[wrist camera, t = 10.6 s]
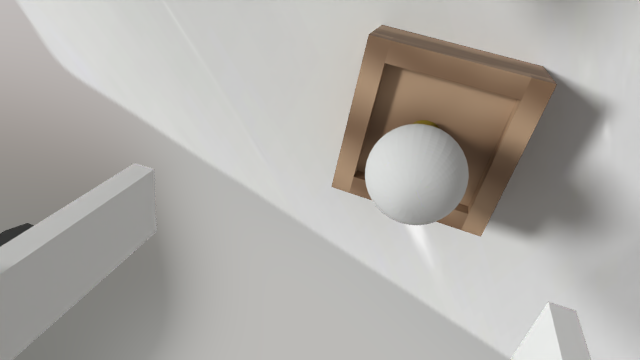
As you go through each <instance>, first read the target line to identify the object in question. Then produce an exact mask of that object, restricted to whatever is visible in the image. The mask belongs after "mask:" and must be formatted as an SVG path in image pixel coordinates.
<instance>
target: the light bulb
mask: <svg viewBox="0 0 640 360" xmlns="http://www.w3.org/2000/svg"><path fill="white" fill-rule="evenodd" d="M468 178H469V174H468V164H467V160H466V157H465V155H464V152H463V151H462V149H461V147H460V146H459V144H458V143H457V142H456V141H455V140H454V139H453V138H452V137H451V136H450V135H449V134H447V133H446V132H444V131H442V130H441V129H440V128H439V127H438V126H437V125H436V124H435V123H433V122H431V121H427V120H420V121H417V122H414V123H413V124H409V125H404V126H401V127H398V128H395V129H393V130H391V131H390V132H388V133H387V134H385V135H384V136H383V137H382V138H380V140H379V141H378V142H377V143H376V144H375V145H374V147H373V149H372V150H371V152H370V154H369V157H368V159H367V163H366V168H365V181H366V187H367V190H368V193H369V195H370V197H371V199H372V201H373V202H374V204H375V205H376V207H377V208H378V209H379V210H380V211H381V212H382V213H384V214H385V215H386V216H388V217H389V218H391V219H393V220H395V221H398V222H400V223H404V224H409V225H424V224H429V223H433V222H436V221H438V220H440V219H442V218H444V217H445V216H447V215H448V214H449V213H451V212H452V211H453V210H454V209H455V208H456V207H457V205H458V204H459V203H460V201H461V200H462V198H463V196H464V194H465V191H466V188H467V184H468Z"/></svg>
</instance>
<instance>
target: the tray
mask: <svg viewBox="0 0 640 360" xmlns="http://www.w3.org/2000/svg"><path fill="white" fill-rule="evenodd" d="M556 85H557V84H556V83H555V81H554V80H553V79H552V77H551V76H550V75H549V73H548V72H547V71H546V70H545V68H544V67H543V66H539V65H535V64H531V63H528V62H524V61H520V60H516V59H512V58H508V57H504V56H501V55H497V54H493V53H489V52H485V51H481V50H477V49H474V48H470V47H466V46H462V45H458V44H454V43H450V42H446V41H443V40H439V39H435V38H431V37H427V36H423V35H419V34H416V33H412V32H408V31H404V30H400V29H396V28H392V27H389V26H385V25H381V26H380V27H379V28H377V29H376V30H374V31H373V32H372V33H370V34H369V36H368V40H367V44H366V48H365V52H364V56H363V60H362V65H361V69H360V73H359V77H358V81H357V85H356V89H355V93H354V97H353V101H352V105H351V109H350V114H349V118H348V122H347V126H346V130H345V134H344V138H343V142H342V146H341V150H340V154H339V158H338V162H337V167H336V171H335V175H334V179H333V183H332V187H334V188H337V189H340V190H343V191H346V192H349V193H352V194H355V195H358V196H361V197H364V198H367V199H370V200H372V199H371V197H370V195H369V193H368V190H367V187H366V181H365V168H366V163H367V159H368V157H369V154H370V152H371V150H372V149H373V147H374V145H375V144H376V143H377V142H378V141H379V140H380V138H382V137H383V136H384V135H385V134H387V133H388V132H390V131H391V130H393V129H395V128H398V127H401V126H404V125H409V124H413V123H414V122H417V121H420V120H427V121H431V122H433V123H435V124H436V125H437V126H438V127H439V128H440V129H441V130H442V131H444V132H446V133H447V134H449V135H450V136H451V137H452V138H453V139H454V140H455V141H456V142H457V143H458V144H459V146H460V147H461V149H462V151H463V152H464V155H465V157H466V160H467V164H468V174H469V178H468V184H467V188H466V191H465V194H464V196H463V198H462V200H461V201H460V203H459V204H458V205H457V207H456V208H455V209H454V210H453V211H452V212H451V213H449V214H448V215H447V216H445V217H444V218H442V219H440V220H438V221H436V222H439V223H442V224H445V225H448V226H451V227H454V228H457V229H460V230H463V231H466V232H469V233H472V234H475V235H478V236H481V235H482V233H483V231H484V229H485V227H486V225H487V223H488V221H489V219H490V217H491V215H492V213H493V211H494V209H495V207H496V205H497V203H498V201H499V199H500V197H501V195H502V193H503V191H504V189H505V187H506V185H507V183H508V181H509V179H510V177H511V175H512V173H513V171H514V169H515V167H516V165H517V163H518V161H519V159H520V157H521V155H522V153H523V151H524V149H525V147H526V145H527V143H528V141H529V139H530V137H531V135H532V133H533V131H534V129H535V127H536V125H537V123H538V121H539V119H540V117H541V115H542V113H543V111H544V109H545V107H546V105H547V103H548V101H549V99H550V97H551V95H552V93H553V91H554V89H555V87H556Z"/></svg>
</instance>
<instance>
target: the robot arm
mask: <svg viewBox="0 0 640 360" xmlns="http://www.w3.org/2000/svg"><path fill="white" fill-rule="evenodd" d="M156 231H157V228H156V203H155V175H154V169H152V168H149V167H146V166H143V165H140V164H137V163H134V164H132V165H131V166H129V167H128V168H126V169H124V170H123V171H121V172H120V173H118V174H116V175H115V176H113V177H112V178H110V179H108V180H107V181H105V182H103V183H102V184H100V185H99V186H97V187H96V188H94V189H92V190H91V191H89V192H88V193H86V194H84V195H83V196H81V197H79V198H78V199H76V200H75V201H73V202H72V203H70V204H68V205H67V206H65V207H64V208H62V209H60V210H59V211H57V212H55V213H54V214H52V215H51V216H49V217H48V218H46V219H44V220H42V221H41V222H39V223H38V224H36V225H35V226H34V225H31V224H29V223H26V224H24V225H20V226H18V227H15V228H12V229H9V230H6V231H4V232H2V233H1V234H0V360H12V359H14V358H15V357H16V356H17V355H18V354H19V353H21V351H23V350H24V349H25V348H26V347H27V346H28V345H30V344H31V343H32V342H33V341H34V340H35V339H36V338H37V337H39V336H40V335H41V334H42V333H43V332H44V331H45V330H46V329H47V328H49V327H50V326H51V325H52V324H53V323H54V322H55V321H57V320H58V319H59V318H60V317H61V316H62V315H63V314H64V313H65V312H67V311H68V310H69V309H70V308H71V307H72V306H73V305H75V304H76V303H77V302H78V301H79V300H80V299H81V298H82V297H84V296H85V295H86V294H87V293H88V292H89V291H90V290H91V289H92V288H94V287H95V286H96V285H97V284H98V283H99V282H100V281H102V280H103V279H104V278H105V277H106V276H107V275H108V274H109V273H111V272H112V271H113V270H114V269H115V268H116V267H117V266H118V265H119V264H121V263H122V262H123V261H124V260H125V259H126V258H127V257H128V256H130V254H132V253H133V252H134V251H135V250H136V249H138V248H139V247H140V246H141V245H142V244H143V243H144V242H145V241H147V239H149V238H150V237H151V236H152V235H153V234H154V233H155V232H156ZM510 360H591V357H590V354H589V351H588V348H587V344H586V341H585V338H584V335H583V332H582V328H581V325H580V322H579V319H578V316H577V312H576V311H575V310H572V309H569V308H566V307H563V306H560V305H557V304H554V303H551V302H548V303H547V305H546V306H545V308H544V309H543V311H542V312H541V314H540V315H539V317H538V318H537V320H536V321H535V323H534V324H533V326H532V327H531V329H530V330H529V332H528V333H527V335H526V336H525V338H524V339H523V341H522V342H521V344H520V345H519V347H518V349H517V350H516V352H515V353H514V355H513V356H512V358H511V359H510Z"/></svg>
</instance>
